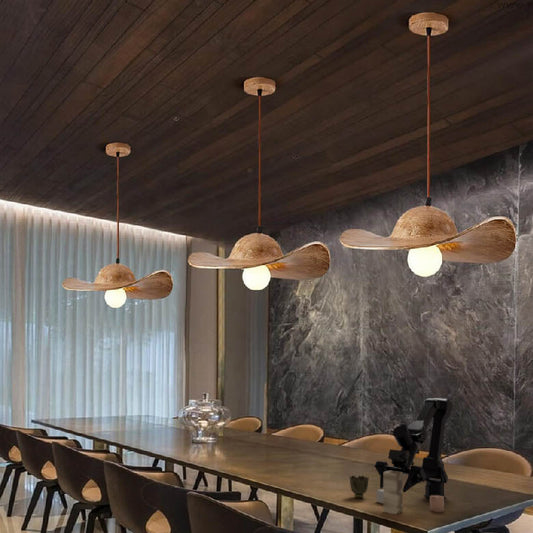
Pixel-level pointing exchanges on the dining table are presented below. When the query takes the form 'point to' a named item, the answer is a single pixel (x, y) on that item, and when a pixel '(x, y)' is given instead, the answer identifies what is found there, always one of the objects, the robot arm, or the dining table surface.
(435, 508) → the pink cube
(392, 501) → the birch block
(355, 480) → the cup
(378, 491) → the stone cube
